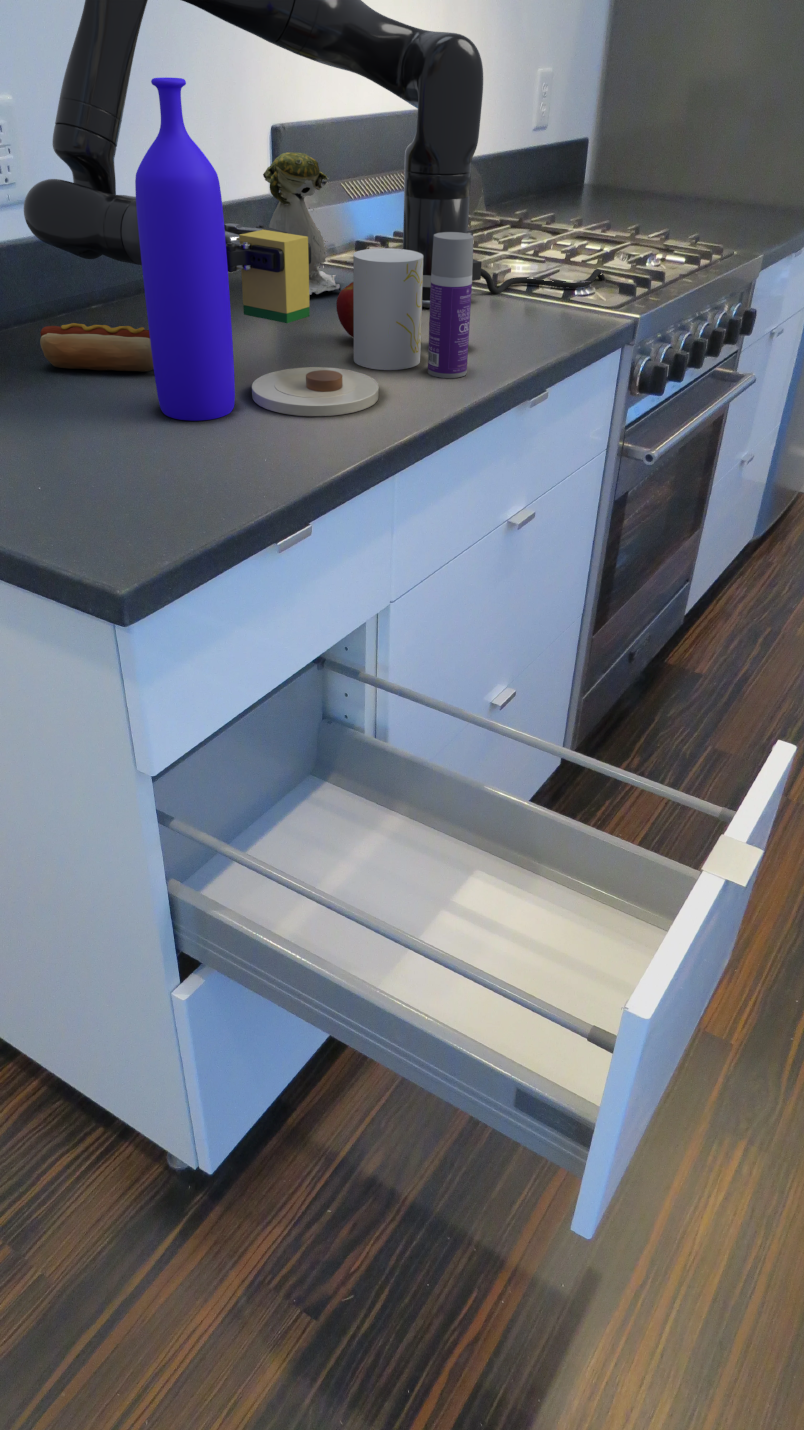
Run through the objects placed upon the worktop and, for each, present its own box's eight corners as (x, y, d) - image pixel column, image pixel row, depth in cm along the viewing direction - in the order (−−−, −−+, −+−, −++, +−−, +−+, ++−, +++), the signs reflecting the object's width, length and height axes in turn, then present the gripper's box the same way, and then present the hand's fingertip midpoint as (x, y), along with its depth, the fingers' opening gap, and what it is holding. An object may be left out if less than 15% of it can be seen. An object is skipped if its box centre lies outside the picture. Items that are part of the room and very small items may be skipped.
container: (463, 379, 120) (471, 240, 112) (424, 376, 121) (429, 238, 113) (469, 368, 124) (477, 233, 116) (431, 365, 125) (436, 230, 117)
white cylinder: (414, 372, 123) (417, 264, 116) (347, 367, 124) (347, 260, 117) (424, 353, 129) (427, 250, 122) (360, 349, 130) (360, 246, 123)
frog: (262, 299, 151) (255, 158, 141) (256, 280, 161) (248, 147, 151) (343, 298, 153) (341, 158, 142) (331, 278, 163) (329, 147, 153)
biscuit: (329, 378, 115) (329, 367, 115) (349, 387, 113) (349, 376, 112) (299, 384, 113) (298, 373, 113) (319, 394, 111) (318, 382, 110)
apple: (356, 331, 137) (356, 267, 133) (410, 340, 134) (411, 274, 130) (326, 344, 132) (325, 277, 127) (381, 353, 129) (382, 285, 124)
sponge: (266, 307, 115) (263, 229, 110) (309, 316, 112) (308, 236, 108) (243, 314, 112) (239, 234, 107) (287, 323, 109) (284, 242, 105)
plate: (332, 370, 122) (332, 360, 122) (404, 401, 113) (404, 390, 113) (228, 390, 115) (228, 379, 115) (296, 425, 106) (295, 413, 105)
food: (170, 364, 123) (165, 321, 120) (157, 378, 118) (152, 333, 115) (55, 359, 123) (48, 316, 121) (38, 373, 119) (30, 328, 116)
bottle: (253, 409, 110) (234, 79, 93) (191, 427, 105) (159, 82, 88) (203, 392, 114) (176, 74, 97) (141, 409, 109) (102, 76, 92)
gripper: (122, 207, 108) (250, 227, 100) (213, 193, 118) (336, 210, 110) (131, 283, 112) (254, 308, 104) (218, 263, 122) (336, 284, 114)
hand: (295, 257), depth 107 cm, fingers closed on sponge, 4 cm apart
